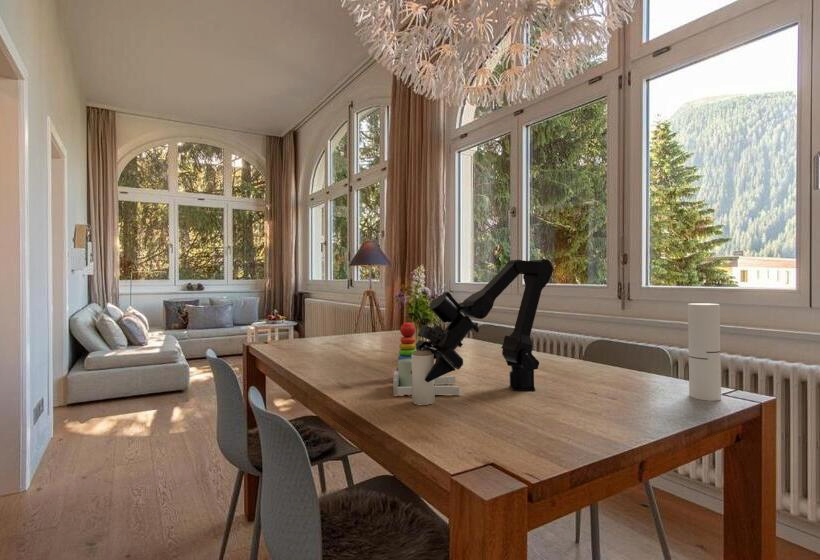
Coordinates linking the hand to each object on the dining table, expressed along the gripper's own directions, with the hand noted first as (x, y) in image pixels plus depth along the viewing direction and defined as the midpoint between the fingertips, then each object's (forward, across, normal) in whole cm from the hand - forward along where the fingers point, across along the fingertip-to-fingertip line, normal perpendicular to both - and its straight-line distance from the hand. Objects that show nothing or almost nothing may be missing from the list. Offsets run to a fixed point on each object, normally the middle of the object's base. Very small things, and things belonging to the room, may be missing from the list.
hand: (418, 377), depth 119 cm
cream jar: (+4, 0, +6) cm, 7 cm away
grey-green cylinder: (+3, -14, +7) cm, 16 cm away
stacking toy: (-1, -28, +11) cm, 30 cm away
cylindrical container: (-45, +30, +55) cm, 77 cm away
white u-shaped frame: (-1, -12, +10) cm, 15 cm away
